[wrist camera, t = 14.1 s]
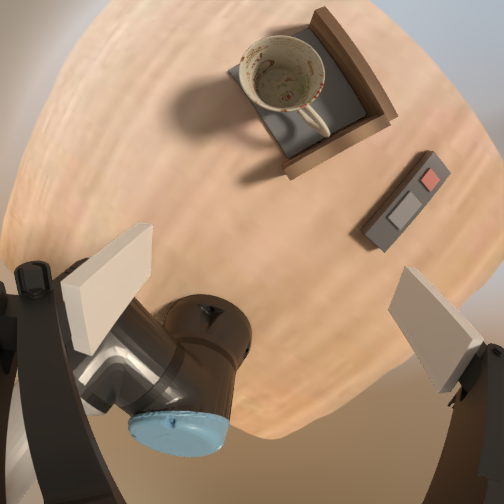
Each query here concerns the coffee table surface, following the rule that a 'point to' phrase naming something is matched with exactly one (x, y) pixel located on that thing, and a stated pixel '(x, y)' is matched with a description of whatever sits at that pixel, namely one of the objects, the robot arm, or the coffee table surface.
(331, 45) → the brown corner wall
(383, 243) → the remote
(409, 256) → the coffee table surface
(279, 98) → the mug
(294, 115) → the mat
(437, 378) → the robot arm
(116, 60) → the coffee table surface
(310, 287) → the coffee table surface
